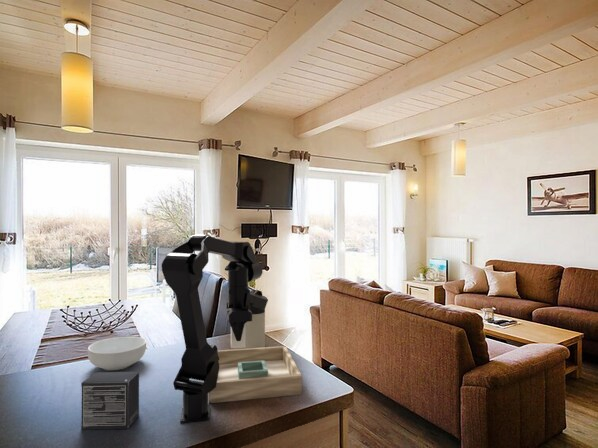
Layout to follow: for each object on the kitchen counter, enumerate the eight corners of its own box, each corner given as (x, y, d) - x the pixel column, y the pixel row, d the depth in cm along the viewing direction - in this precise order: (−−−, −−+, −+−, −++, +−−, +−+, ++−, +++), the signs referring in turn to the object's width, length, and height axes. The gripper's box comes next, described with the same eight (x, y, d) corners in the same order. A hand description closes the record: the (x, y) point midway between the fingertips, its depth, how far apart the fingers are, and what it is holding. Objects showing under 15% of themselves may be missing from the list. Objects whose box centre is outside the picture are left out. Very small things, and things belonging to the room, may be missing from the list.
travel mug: (248, 353, 128) (248, 301, 128) (239, 346, 134) (239, 297, 134) (268, 348, 132) (268, 299, 132) (258, 342, 139) (258, 295, 139)
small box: (140, 414, 87) (140, 370, 87) (128, 429, 80) (128, 382, 80) (95, 414, 86) (95, 370, 86) (79, 430, 80) (80, 382, 80)
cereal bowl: (131, 377, 107) (132, 353, 107) (75, 376, 107) (75, 353, 107) (154, 356, 124) (154, 335, 124) (105, 356, 124) (105, 335, 124)
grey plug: (245, 347, 104) (245, 319, 104) (231, 348, 103) (231, 320, 103) (244, 342, 108) (244, 315, 108) (230, 343, 107) (230, 316, 107)
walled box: (301, 394, 97) (301, 375, 97) (209, 403, 92) (209, 383, 92) (285, 360, 120) (285, 345, 120) (210, 366, 115) (211, 350, 115)
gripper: (270, 289, 98) (270, 347, 98) (261, 278, 116) (261, 327, 116) (228, 291, 95) (228, 350, 95) (226, 280, 113) (226, 329, 114)
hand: (238, 338), depth 105 cm, fingers closed on grey plug, 4 cm apart
